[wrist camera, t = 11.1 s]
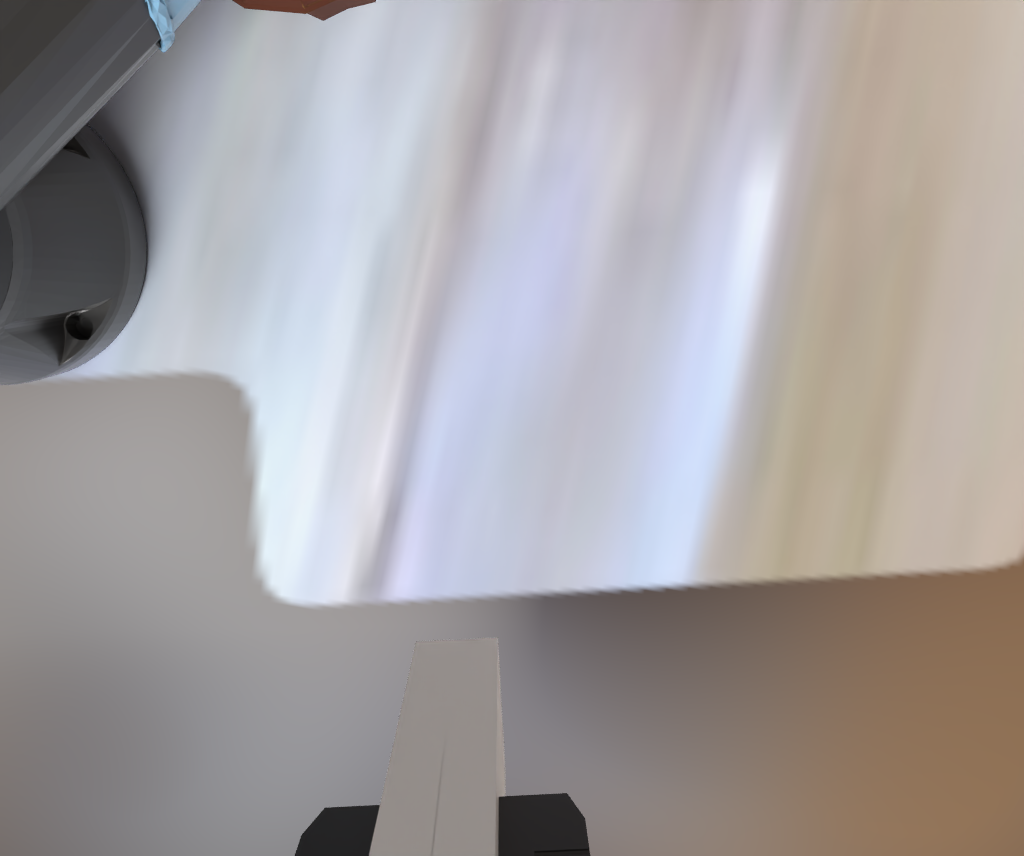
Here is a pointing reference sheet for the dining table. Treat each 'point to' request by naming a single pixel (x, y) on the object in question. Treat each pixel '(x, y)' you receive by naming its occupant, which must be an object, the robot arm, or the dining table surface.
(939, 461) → the dining table surface
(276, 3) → the muffin
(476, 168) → the dining table surface
